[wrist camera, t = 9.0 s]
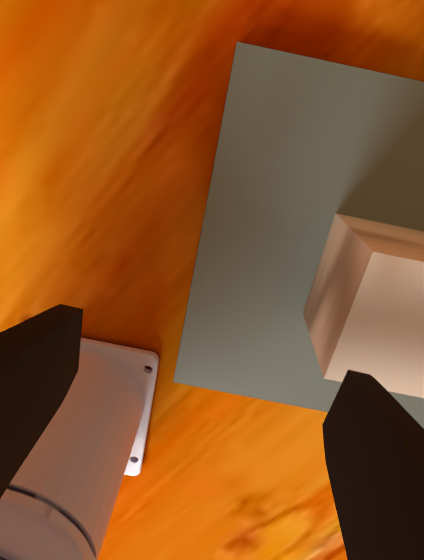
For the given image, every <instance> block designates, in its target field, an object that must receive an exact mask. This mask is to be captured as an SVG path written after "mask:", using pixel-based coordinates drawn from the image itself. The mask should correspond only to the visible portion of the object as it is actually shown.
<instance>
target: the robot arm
mask: <svg viewBox="0 0 424 560" xmlns="http://www.w3.org/2000/svg"><path fill="white" fill-rule="evenodd" d="M82 316H83V309H80V308H76V307H71V306H67V305H62V304H60V305H57V306H55V307H53V308H50V309H48V310H46V311H44V312H42V313H40V314H38V315H36V316H34V317H32V318H30V319H28V320H26V321H24V322H22V323H20V324H17V325H15V326H13V327H11V328H9V329H7V330H5V331H3V332H1V333H0V560H98V556H99V553H100V550H101V547H102V544H103V540H104V537H105V534H106V531H107V528H108V524H109V521H110V518H111V515H112V511H113V508H114V505H115V502H116V499H117V495H118V492H119V489H120V486H121V483H122V479H123V476H124V474H125V475H131V476H136V475H138V474H140V472H141V468H142V462H143V456H144V450H145V444H146V438H147V432H148V426H149V420H150V414H151V408H152V402H153V396H154V390H155V383H156V377H157V371H158V365H159V357H158V355H157V354H156V353H155V352H152V351H147V350H142V349H137V348H132V347H127V346H122V345H117V344H112V343H106V342H101V341H96V340H91V339H86V338H81V330H82ZM145 366H150V367H151V368H152V369H147V368H146V367H145ZM323 438H324V449H325V459H326V465H327V470H328V474H329V479H330V483H331V488H332V493H333V497H334V501H335V506H336V510H337V514H338V519H339V523H340V527H341V532H342V536H343V540H344V545H345V549H346V554H347V559H348V560H424V428H423V427H422V426H421V425H420V424H419V423H418V422H417V421H416V420H415V419H414V418H413V417H412V416H411V415H410V414H409V413H408V412H407V411H406V410H405V409H404V408H403V407H402V405H401V404H400V403H399V402H398V401H397V400H396V399H395V398H394V397H393V396H392V395H391V394H390V393H389V392H388V391H387V390H386V389H385V388H384V387H383V386H382V385H381V384H380V383H379V382H378V381H377V380H376V379H375V378H374V377H373V376H372V375H370V374H366V373H362V372H357V371H353V370H348V371H347V373H346V375H345V377H344V379H343V382H342V384H341V386H340V388H339V390H338V392H337V395H336V397H335V399H334V401H333V403H332V405H331V408H330V410H329V412H328V414H327V416H326V418H325V420H324V423H323Z"/></svg>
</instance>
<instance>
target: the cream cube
mask: <svg viewBox="0 0 424 560" xmlns="http://www.w3.org/2000/svg"><path fill="white" fill-rule="evenodd" d="M303 316H304V319H305V322H306V325H307V328H308V331H309V334H310V338H311V341H312V344H313V347H314V350H315V353H316V356H317V359H318V362H319V365H320V368H321V371H322V374H323V377H324V379H328V380H333V381H339V382H343V379H344V377H345V375H346V373H347V371H348V370H353V371H357V372H362V373H366V374H370V375H372V376H373V377H374V378H375V379H376V380H377V381H378V382H379V383H380V384H381V385H382V386H383V387H384V388H385V389H386V390H387V391H389V392H395V393H400V394H405V395H410V396H415V397H420V398H424V231H419V230H415V229H410V228H405V227H400V226H395V225H390V224H385V223H381V222H376V221H371V220H366V219H361V218H356V217H351V216H347V215H342V214H337V213H335V216H334V219H333V222H332V225H331V228H330V231H329V234H328V237H327V240H326V243H325V246H324V249H323V252H322V256H321V259H320V262H319V265H318V268H317V271H316V274H315V277H314V280H313V283H312V286H311V289H310V292H309V295H308V298H307V301H306V304H305V307H304V310H303Z"/></svg>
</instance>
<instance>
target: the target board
mask: <svg viewBox="0 0 424 560" xmlns="http://www.w3.org/2000/svg"><path fill="white" fill-rule="evenodd" d="M335 213H337V214H342V215H347V216H351V217H356V218H361V219H366V220H371V221H376V222H381V223H385V224H390V225H395V226H400V227H405V228H410V229H415V230H419V231H424V82H423V81H418V80H414V79H409V78H404V77H400V76H395V75H390V74H386V73H381V72H376V71H372V70H367V69H363V68H358V67H353V66H349V65H344V64H339V63H335V62H330V61H325V60H321V59H316V58H311V57H307V56H302V55H297V54H293V53H288V52H283V51H279V50H274V49H269V48H265V47H260V46H256V45H251V44H246V43H242V42H237V44H236V49H235V55H234V60H233V65H232V71H231V76H230V81H229V86H228V92H227V97H226V102H225V108H224V113H223V118H222V124H221V129H220V134H219V140H218V145H217V150H216V156H215V161H214V166H213V172H212V177H211V182H210V188H209V193H208V198H207V204H206V209H205V214H204V220H203V225H202V230H201V236H200V241H199V246H198V252H197V257H196V262H195V268H194V273H193V278H192V284H191V289H190V294H189V300H188V305H187V310H186V316H185V321H184V326H183V332H182V337H181V342H180V348H179V353H178V358H177V364H176V369H175V374H174V380H173V382H176V383H181V384H186V385H191V386H196V387H201V388H206V389H212V390H217V391H222V392H227V393H232V394H237V395H243V396H248V397H253V398H258V399H263V400H268V401H273V402H279V403H284V404H289V405H294V406H299V407H304V408H309V409H315V410H320V411H325V412H329V410H330V408H331V405H332V403H333V401H334V399H335V397H336V395H337V392H338V390H339V388H340V386H341V384H342V382H339V381H333V380H328V379H324V377H323V374H322V371H321V368H320V365H319V362H318V359H317V356H316V353H315V350H314V347H313V344H312V341H311V338H310V334H309V331H308V328H307V325H306V322H305V319H304V316H303V310H304V307H305V304H306V301H307V298H308V295H309V292H310V289H311V286H312V283H313V280H314V277H315V274H316V271H317V268H318V265H319V262H320V259H321V256H322V252H323V249H324V246H325V243H326V240H327V237H328V234H329V231H330V228H331V225H332V222H333V219H334V216H335ZM388 392H389V391H388ZM389 393H390V394H391V395H392V396H393V397H394V398H395V399H396V400H397V401H398V402H399V403H400V404H401V405H402V407H403V408H404V409H405V410H406V411H407V412H408V413H409V414H410V415H411V416H412V417H413V418H414V419H415V420H416V421H417V422H418V423H419V424H420V425H421V426H422V427H423V428H424V398H420V397H415V396H410V395H405V394H400V393H395V392H389Z"/></svg>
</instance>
